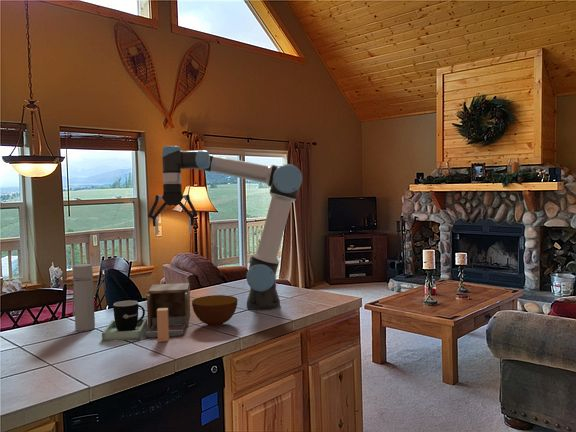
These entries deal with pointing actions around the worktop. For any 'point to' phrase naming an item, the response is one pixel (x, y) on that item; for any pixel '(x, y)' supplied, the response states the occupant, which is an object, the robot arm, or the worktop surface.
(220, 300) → the bowl
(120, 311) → the mug
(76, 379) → the worktop surface
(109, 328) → the tray
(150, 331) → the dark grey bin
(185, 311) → the bay
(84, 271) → the water bottle
